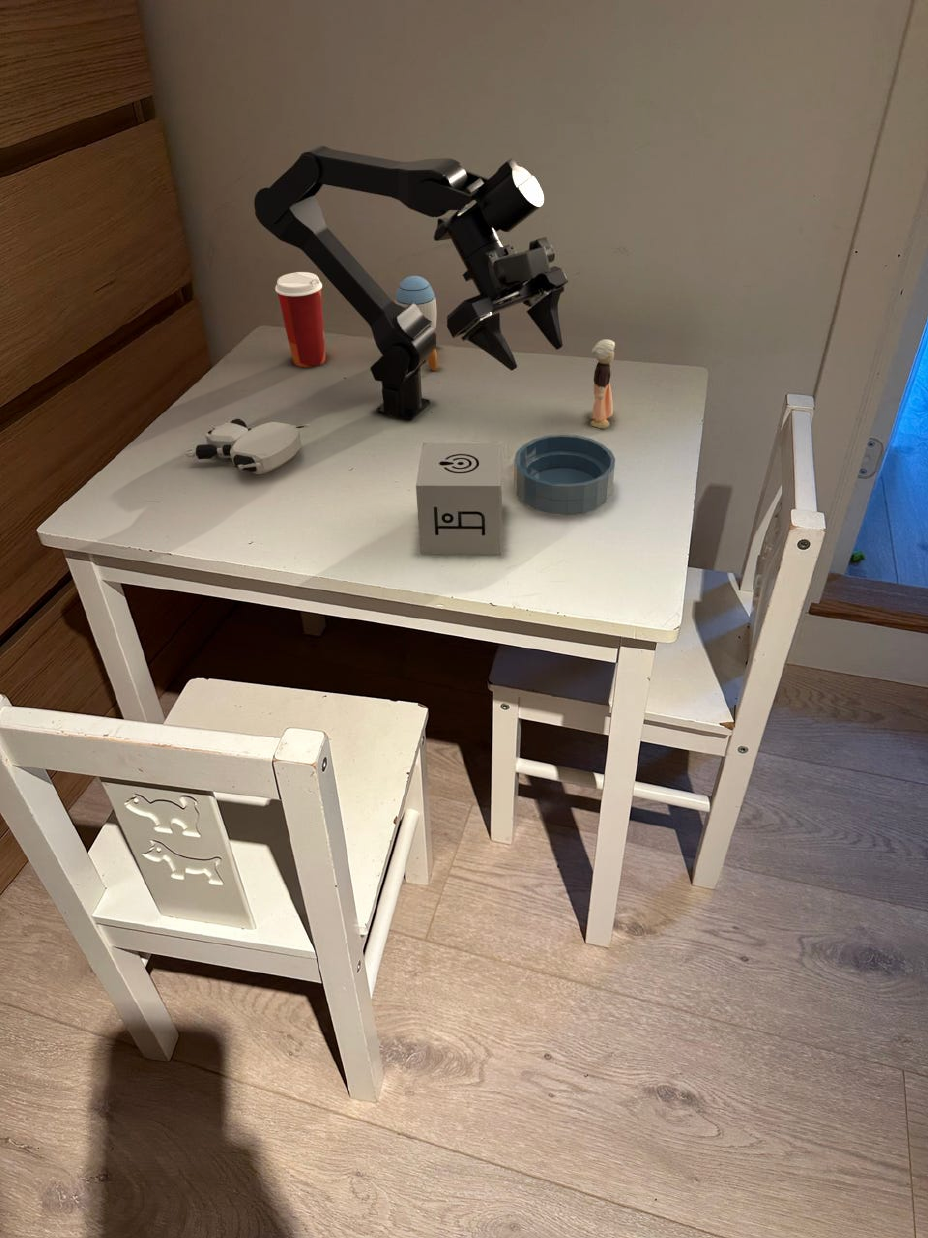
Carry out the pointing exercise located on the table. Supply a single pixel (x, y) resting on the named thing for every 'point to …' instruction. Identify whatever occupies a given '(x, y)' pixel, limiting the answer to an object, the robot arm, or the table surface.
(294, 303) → the paper cup
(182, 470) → the table surface
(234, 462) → the robot toy
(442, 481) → the icon cube
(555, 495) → the blue pet bowl
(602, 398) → the grandmother figurine
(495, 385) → the table surface
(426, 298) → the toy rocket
